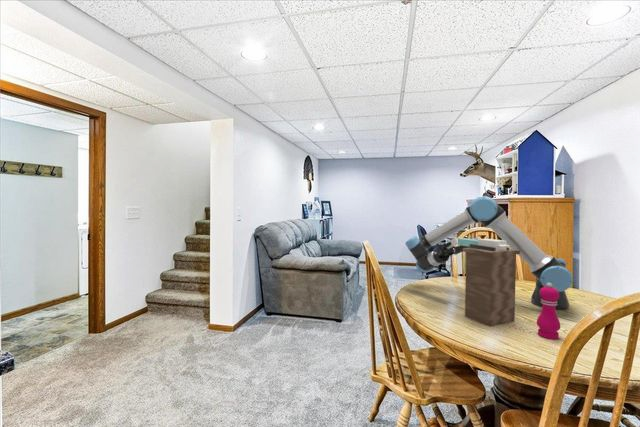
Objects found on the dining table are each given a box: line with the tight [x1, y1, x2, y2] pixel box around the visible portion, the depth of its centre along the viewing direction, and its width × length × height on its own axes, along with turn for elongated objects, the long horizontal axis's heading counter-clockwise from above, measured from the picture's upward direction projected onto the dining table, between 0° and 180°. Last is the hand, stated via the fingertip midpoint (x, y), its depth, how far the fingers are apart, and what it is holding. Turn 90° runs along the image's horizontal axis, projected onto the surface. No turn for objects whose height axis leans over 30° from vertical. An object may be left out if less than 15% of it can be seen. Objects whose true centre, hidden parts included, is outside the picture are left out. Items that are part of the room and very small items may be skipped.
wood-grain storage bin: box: [462, 244, 520, 327], centre depth 135 cm, size 17×14×32 cm
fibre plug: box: [457, 237, 510, 251], centre depth 139 cm, size 6×23×4 cm, turn 23°
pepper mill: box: [536, 283, 561, 340], centre depth 118 cm, size 7×7×20 cm
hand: (468, 239), depth 146 cm, fingers open, 13 cm apart
